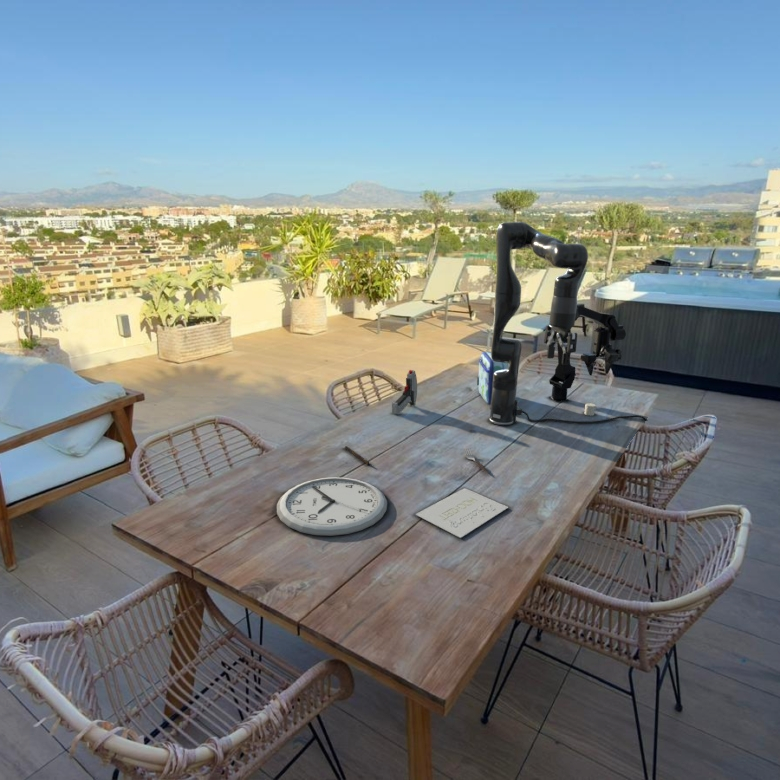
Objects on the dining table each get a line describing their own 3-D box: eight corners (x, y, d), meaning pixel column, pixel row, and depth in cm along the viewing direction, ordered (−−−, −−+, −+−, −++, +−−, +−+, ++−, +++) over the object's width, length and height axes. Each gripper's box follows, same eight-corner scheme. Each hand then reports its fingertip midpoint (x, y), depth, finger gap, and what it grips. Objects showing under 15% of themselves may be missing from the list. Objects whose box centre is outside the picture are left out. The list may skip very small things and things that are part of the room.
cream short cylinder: (595, 413, 218) (597, 404, 216) (592, 416, 215) (593, 407, 213) (586, 411, 220) (587, 402, 219) (582, 414, 217) (584, 404, 216)
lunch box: (475, 390, 246) (478, 346, 240) (498, 390, 246) (501, 347, 240) (484, 408, 221) (487, 360, 215) (509, 409, 221) (513, 360, 215)
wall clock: (392, 527, 129) (268, 531, 127) (391, 533, 130) (269, 537, 127) (383, 473, 158) (282, 475, 155) (383, 478, 158) (282, 480, 156)
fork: (483, 474, 162) (483, 469, 161) (463, 454, 176) (463, 448, 176) (491, 474, 162) (491, 468, 162) (470, 453, 177) (470, 447, 176)
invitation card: (464, 487, 153) (508, 506, 143) (464, 488, 153) (508, 507, 143) (415, 513, 138) (460, 537, 128) (415, 514, 138) (460, 538, 128)
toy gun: (391, 378, 208) (412, 368, 219) (392, 415, 214) (412, 403, 225) (395, 379, 207) (417, 369, 218) (396, 416, 212) (417, 405, 223)
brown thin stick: (344, 448, 179) (344, 445, 179) (346, 448, 179) (346, 445, 179) (367, 464, 167) (367, 462, 167) (368, 464, 167) (368, 461, 167)
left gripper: (587, 314, 157) (581, 366, 162) (561, 306, 170) (555, 355, 175) (565, 314, 155) (559, 367, 160) (540, 307, 168) (535, 356, 173)
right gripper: (599, 346, 226) (594, 381, 231) (632, 343, 232) (627, 377, 237) (581, 341, 236) (577, 374, 240) (614, 338, 242) (609, 371, 247)
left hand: (557, 361), depth 167 cm, fingers open, 8 cm apart
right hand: (598, 374), depth 241 cm, fingers open, 9 cm apart
